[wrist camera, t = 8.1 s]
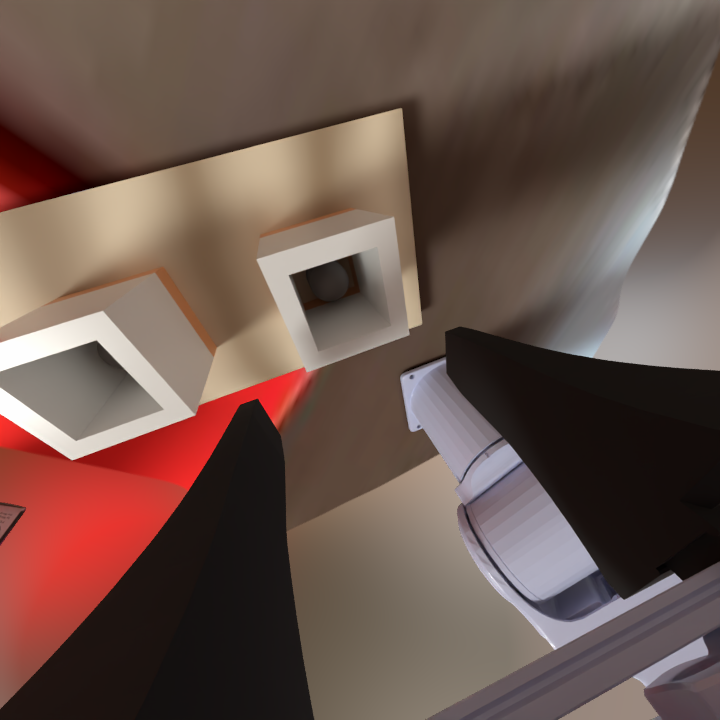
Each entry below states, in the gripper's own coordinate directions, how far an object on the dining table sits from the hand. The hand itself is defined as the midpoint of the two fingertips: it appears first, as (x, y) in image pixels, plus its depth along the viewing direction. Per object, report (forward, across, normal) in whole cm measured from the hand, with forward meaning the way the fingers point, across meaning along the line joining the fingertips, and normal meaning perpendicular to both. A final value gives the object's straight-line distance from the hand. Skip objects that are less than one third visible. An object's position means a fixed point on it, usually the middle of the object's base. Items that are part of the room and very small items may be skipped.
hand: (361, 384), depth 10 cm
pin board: (+10, +4, -2) cm, 11 cm away
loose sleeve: (+8, 0, -2) cm, 9 cm away
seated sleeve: (+8, +10, -2) cm, 13 cm away
